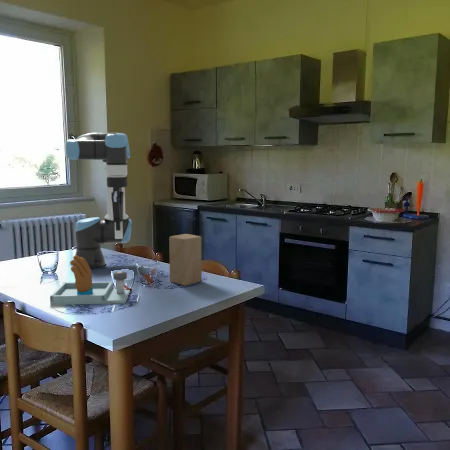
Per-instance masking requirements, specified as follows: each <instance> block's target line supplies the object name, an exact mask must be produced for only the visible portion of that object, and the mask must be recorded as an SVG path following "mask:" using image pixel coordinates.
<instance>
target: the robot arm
mask: <svg viewBox="0 0 450 450" xmlns="http://www.w3.org/2000/svg"><path fill="white" fill-rule="evenodd" d="M65 155H66V158H67V159H68V160H74V161H78V160H79V161H81V160H82V161H84V160H85V161H87V160H89V161H90V160H91V161H93V160H95V161H96V160H98V161H99V160H101V162H102V163H103V164H104V165H105V167H104V169H105V176H106V177H105V178H106V179H105V181H106V203H107V204H106V207H107V208H106V209H107V210H106V211H107V213H106V215H104V220H101V217H98V216H97V217H93V216H92V217H88V218H87V217H86V218H83V219H78V220H77V221H76V222H75V230H74V232H75V243H76V246H75V247H76V251H75V255H77V256H79V257H82V258H84V259H85V260H86V262H87V263H88V265H89V268H90V269H95V268H101V267H103V266H105V265H106V259H105V256H104V253H103V251H102V244H103V245H104V244H105V245H106V244H108V245H109V244H124V243H129V242H130V240H131V234H132V223H133V221H132V220H131V219H130V218H129V215H128V214H127V213H126V188H127V187H128V177H127V176H128V159H130V158H131V150H130V145H129V138H128V135H127V134H125V133H122V132H89V133H86V134H84V133H83V134H82V135H79V136H78V137H76V138H75V139H68V140H66V141H65ZM75 255H74V256H75Z"/></svg>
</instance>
